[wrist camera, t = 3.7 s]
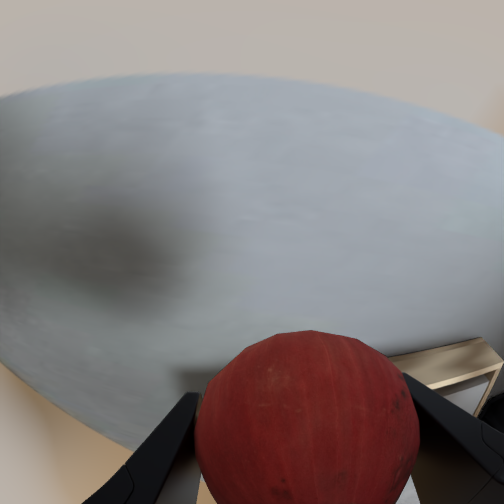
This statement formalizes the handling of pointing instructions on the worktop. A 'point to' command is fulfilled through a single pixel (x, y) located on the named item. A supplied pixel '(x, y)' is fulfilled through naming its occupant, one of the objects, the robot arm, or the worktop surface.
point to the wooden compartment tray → (455, 371)
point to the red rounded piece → (307, 424)
